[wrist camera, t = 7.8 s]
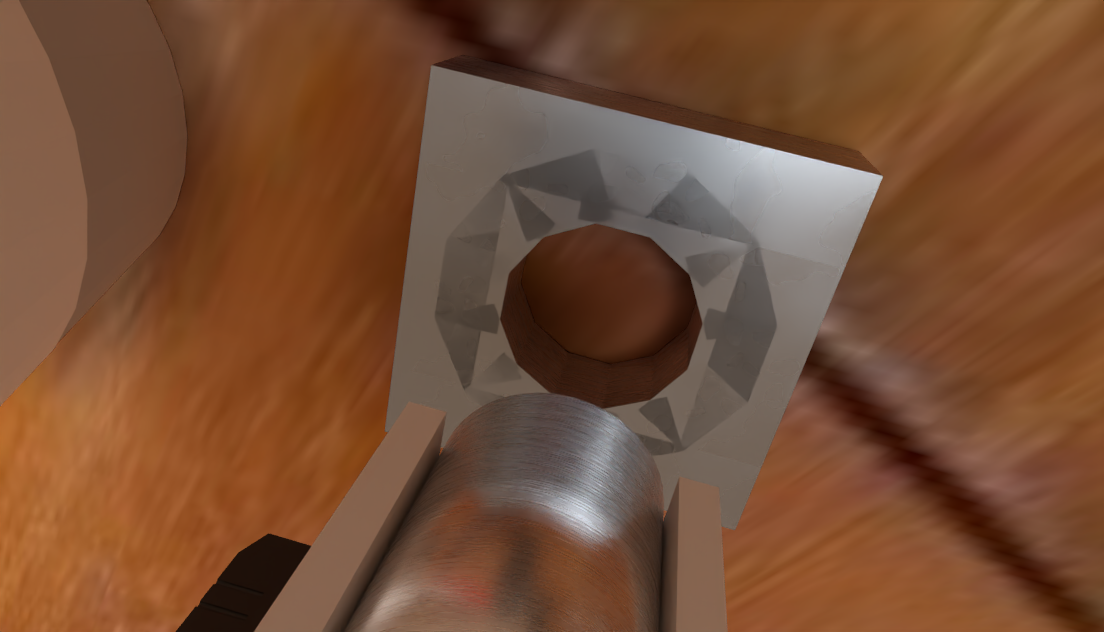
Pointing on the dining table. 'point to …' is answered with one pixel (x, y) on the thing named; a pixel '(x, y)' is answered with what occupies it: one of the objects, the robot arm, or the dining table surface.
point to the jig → (634, 206)
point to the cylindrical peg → (527, 528)
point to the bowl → (79, 162)
